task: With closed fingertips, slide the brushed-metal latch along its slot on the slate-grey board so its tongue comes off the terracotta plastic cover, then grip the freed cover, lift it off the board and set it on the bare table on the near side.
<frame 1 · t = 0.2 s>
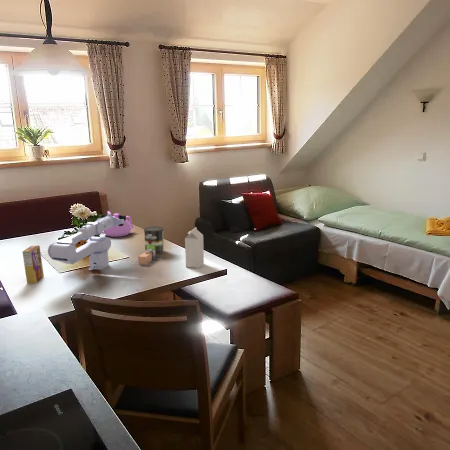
hand: (118, 217, 221), 21 cm above the table, tool horizontal, fingers open, 7 cm apart
cover: (145, 262, 213), point 1 cm above the table, touching board
milk carton: (194, 266, 210), on the table
coffee can: (154, 253, 230), on the table
latch: (149, 254, 217), point 4 cm above the table, slide at 0.0 cm
board: (147, 262, 215), on the table
teapot: (116, 234, 272), on the table
candy box: (35, 280, 192), on the table
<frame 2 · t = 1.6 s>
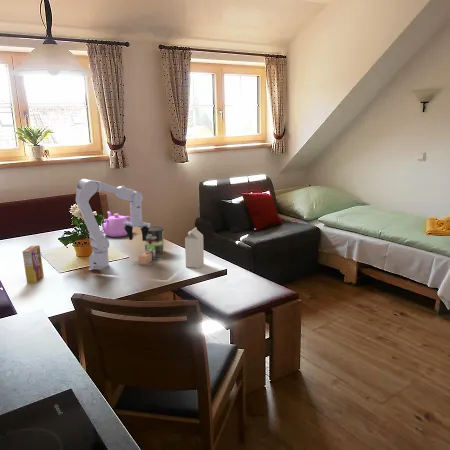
hand: (137, 240, 218), 10 cm above the table, tool pointing down, fingers open, 7 cm apart
nothing on the table moved.
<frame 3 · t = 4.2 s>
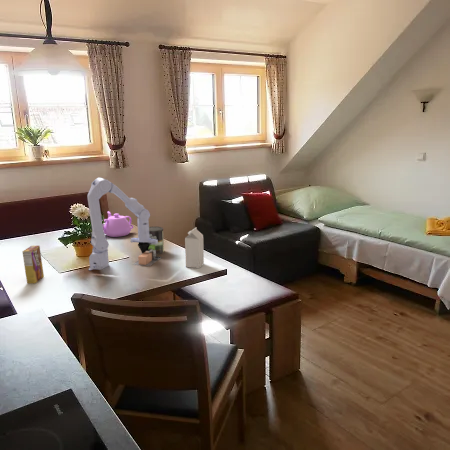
hand: (144, 256, 219), 2 cm above the table, tool pointing down, fingers closed
latch: (149, 254, 217), point 4 cm above the table, slide at 0.2 cm, touching gripper
everything else where it was.
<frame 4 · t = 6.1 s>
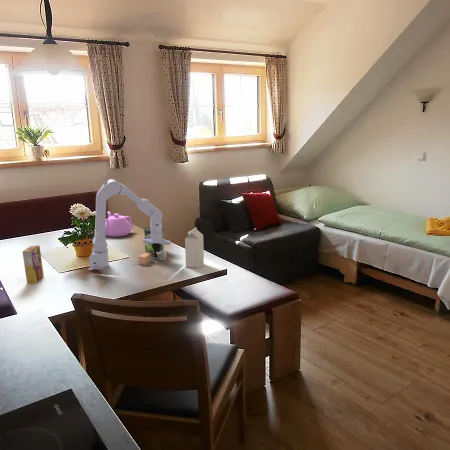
hand: (157, 257, 218), 2 cm above the table, tool pointing down, fingers closed, pressing on latch
latch: (160, 255, 215), point 4 cm above the table, slide at 6.3 cm, touching gripper
everything else where it was.
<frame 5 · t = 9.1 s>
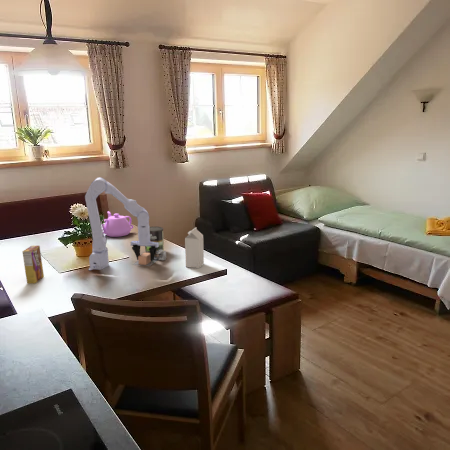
hand: (145, 259, 212), 2 cm above the table, tool pointing down, fingers open, 7 cm apart
latch: (160, 255, 215), point 4 cm above the table, slide at 6.0 cm, touching gripper
everything else where it was.
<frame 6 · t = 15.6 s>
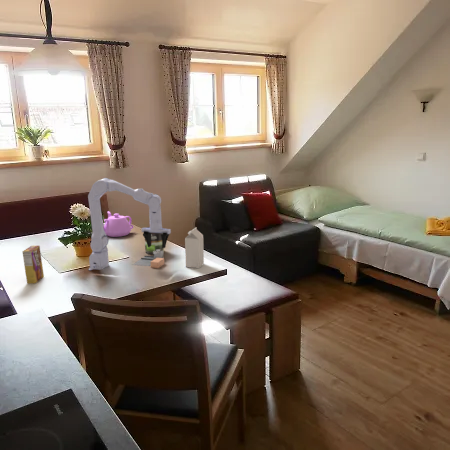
hand: (156, 247, 205), 10 cm above the table, tool pointing down, fingers open, 7 cm apart
cover: (157, 267, 208), on the table
latch: (157, 255, 215), point 4 cm above the table, slide at 4.5 cm
everything else where it was.
at the end: latch slide at 4.5 cm; cover inside the target area (0.2 cm from its centre), on the table; cover tilted 0° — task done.
